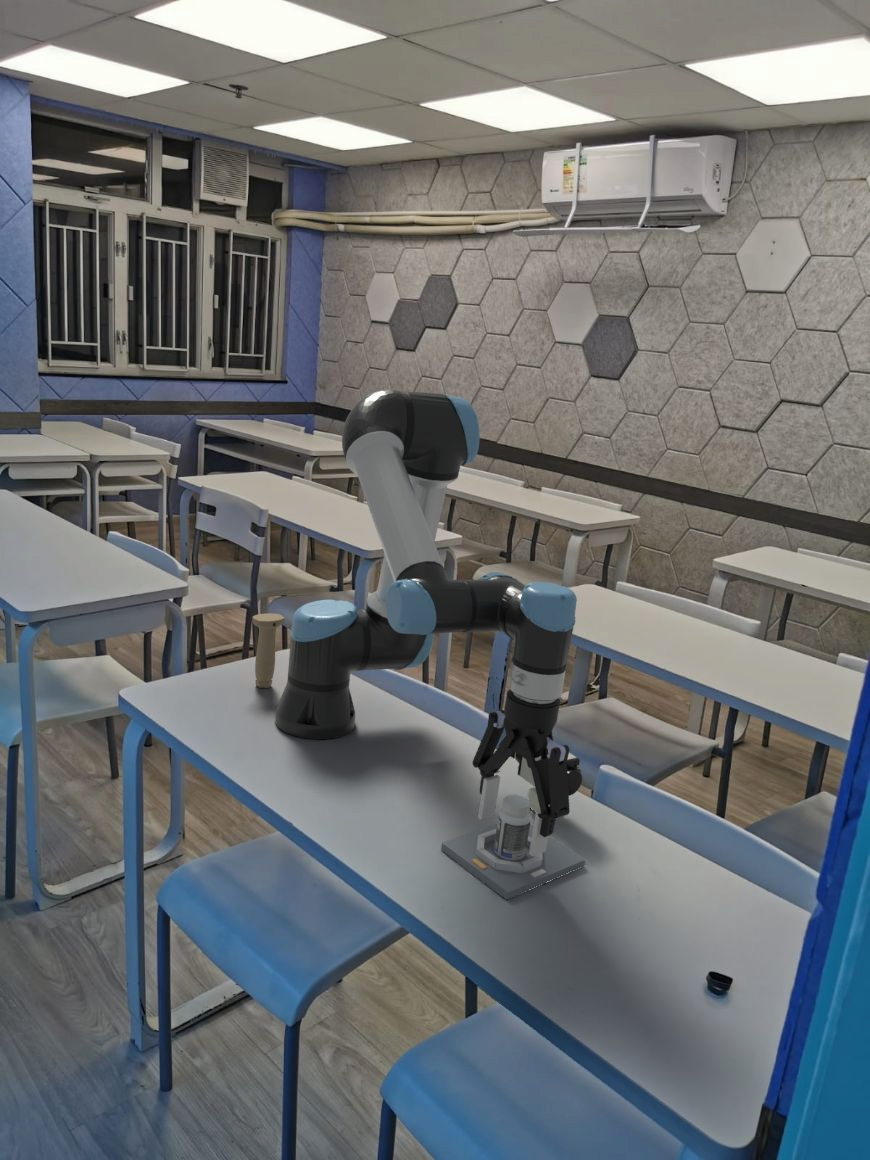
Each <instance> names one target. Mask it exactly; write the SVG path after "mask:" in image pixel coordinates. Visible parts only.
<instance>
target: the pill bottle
mask: <svg viewBox="0 0 870 1160" xmlns="http://www.w3.org/2000/svg"><path fill="white" fill-rule="evenodd" d="M530 810H531V809H530V801H529V799H528V797H525V796H523V795H519V794H508V795H506V796H504V797H503V799H502V805H501V808H500V810H499V812H498V816H497V823H496V824H497V829H496V837H495V843H494V852H495V853H496V854H497V855H498V856H499V857H501V858H503V859H505V860H510V861H516V860H520V859H522V858H523V857H524V856H525V854H526V848H527V841H528V835H529V828H530V824H531V819H532V817H531V814H530Z"/></svg>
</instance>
